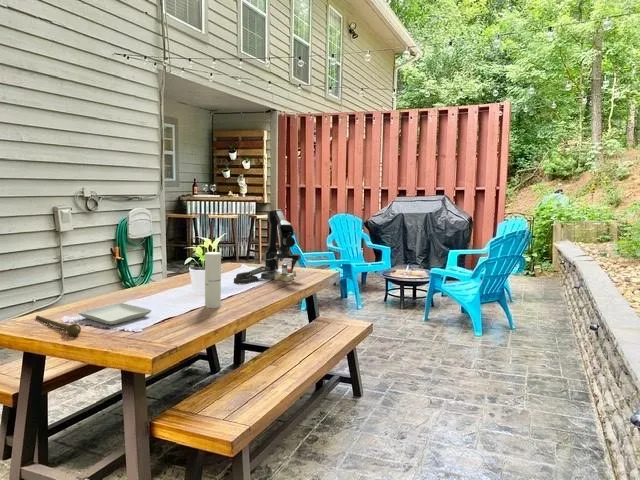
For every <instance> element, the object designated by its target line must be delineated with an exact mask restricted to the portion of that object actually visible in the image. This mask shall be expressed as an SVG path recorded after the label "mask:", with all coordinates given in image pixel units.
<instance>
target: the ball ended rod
mask: <svg viewBox="0 0 640 480" xmlns="http://www.w3.org/2000/svg"><path fill="white" fill-rule="evenodd" d="M34 319H35V320H38V321H41V322H44V323H46V324H48V325H52V326H54V327H57V328H60V329H63V330H65V332H67V335H68V336H70V337H77V336H79V335H80V333H81V331H82V328H81V325H79V324H77V323H71V324H66V323H62V322H58V321H55V320H52V319H49V318H46V317H43V316H40V315H36V316H35V318H34Z"/></svg>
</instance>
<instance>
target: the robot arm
mask: <svg viewBox="0 0 640 480" xmlns="http://www.w3.org/2000/svg"><path fill="white" fill-rule="evenodd" d="M266 217H267V220H268V223H269V237H268V245H267V247H266V248H265V252H264V255H263V261H264V262H265V267H270V268H271V270H270V271H272V272H274V271H278V270H279V261H280V260H279V259H282V260H283V259H291V260H290V261H291V266H290V268H291V271H294V268H295V265H296V264H297V262H298V261H300V260H301V259H302V255H301V254H299V253H298V254H297V253H294V254H291V248H292V247H293V246H295V244H296V240H295V238H293V237H294V235H295V232H294V228H293V225H292V224H291V222H289V221H287V219H286V217H285V215H284V213H283V209H280V208H279V209H273V210H269V211H268V212H267V216H266ZM277 232H279V236H280V246H279V250H278V248H277V247H276V246H277V237H278V236H277V234H278V233H277ZM275 269H276V270H275ZM273 270H274V271H273Z"/></svg>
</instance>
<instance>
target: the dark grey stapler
mask: <svg viewBox="0 0 640 480" xmlns="http://www.w3.org/2000/svg"><path fill="white" fill-rule="evenodd" d="M269 270H271V268H270V267H265V266H263V265H261V266H260V267H256V268H254V269H252V270H250V271H245V272H244V271H243V272H240V273H239V272H238V273H237V274H236V276H235V277H234V278H233V282H234V283H235V284H239V283H246V284H249V282H250V283H253V281H254V282H258V281H257V280H259V276H256V275H258V274H261V273H264V272H266V271H269Z"/></svg>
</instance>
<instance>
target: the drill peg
mask: <svg viewBox="0 0 640 480" xmlns="http://www.w3.org/2000/svg"><path fill="white" fill-rule="evenodd" d="M287 268H289V267H288V264H285V263H284V264H283V263H282V265H281V273H282V275H287Z"/></svg>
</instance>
